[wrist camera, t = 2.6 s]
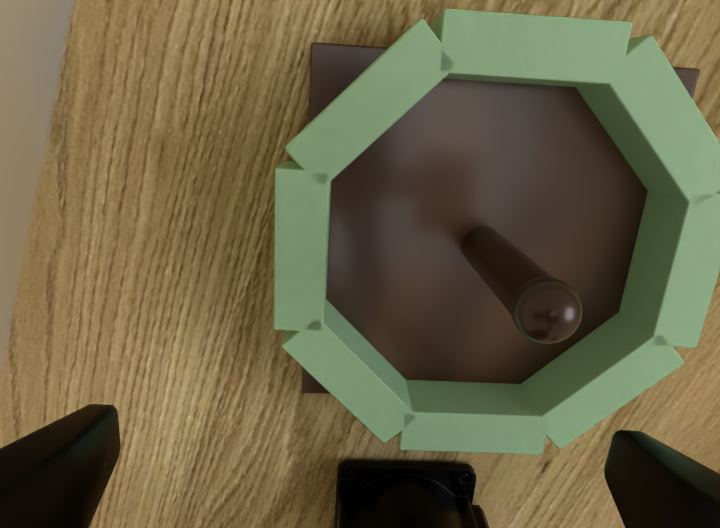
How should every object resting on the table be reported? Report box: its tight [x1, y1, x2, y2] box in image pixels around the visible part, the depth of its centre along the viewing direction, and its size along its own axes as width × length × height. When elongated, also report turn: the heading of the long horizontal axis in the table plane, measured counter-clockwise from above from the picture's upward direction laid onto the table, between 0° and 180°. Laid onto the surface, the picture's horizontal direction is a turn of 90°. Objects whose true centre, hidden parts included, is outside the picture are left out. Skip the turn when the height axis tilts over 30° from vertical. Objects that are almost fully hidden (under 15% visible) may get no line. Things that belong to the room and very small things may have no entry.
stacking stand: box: [302, 42, 700, 394], centre depth 16 cm, size 14×14×8 cm
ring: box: [274, 8, 720, 455], centre depth 18 cm, size 16×16×2 cm
